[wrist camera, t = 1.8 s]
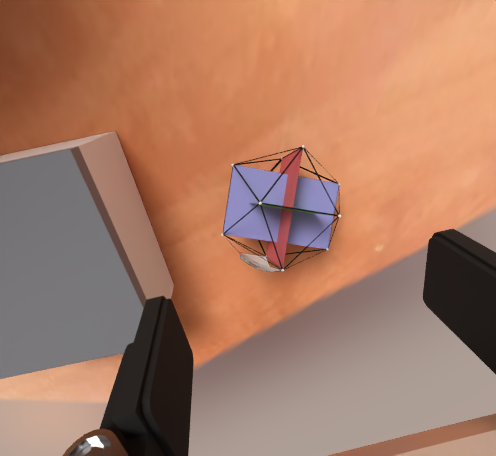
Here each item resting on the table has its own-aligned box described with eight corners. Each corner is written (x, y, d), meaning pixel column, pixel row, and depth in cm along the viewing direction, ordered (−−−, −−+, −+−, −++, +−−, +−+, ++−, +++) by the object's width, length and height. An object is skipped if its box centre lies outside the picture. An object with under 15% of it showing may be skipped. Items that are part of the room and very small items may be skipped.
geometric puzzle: (242, 102, 16) (230, 234, 12) (357, 127, 17) (379, 254, 13) (224, 180, 22) (212, 283, 18) (308, 195, 23) (314, 294, 19)
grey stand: (115, 130, 18) (70, 149, 12) (174, 285, 23) (160, 345, 18) (-60, 168, 18) (-181, 202, 12) (39, 313, 23) (-16, 382, 18)
